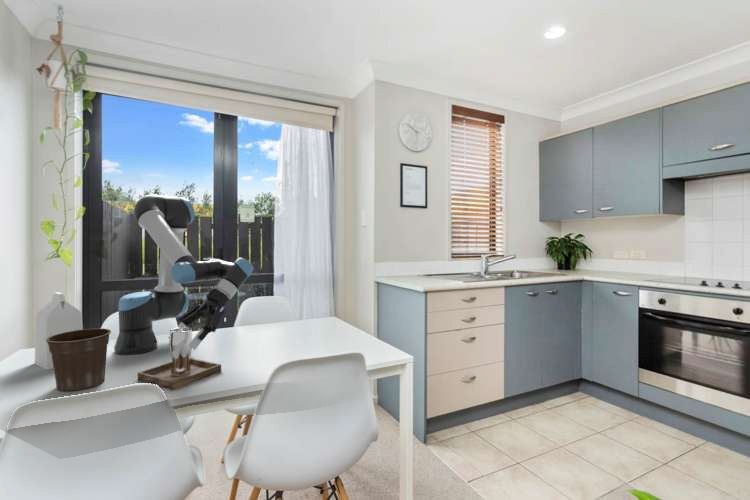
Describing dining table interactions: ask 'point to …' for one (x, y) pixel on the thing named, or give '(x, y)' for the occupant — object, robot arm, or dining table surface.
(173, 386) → the walnut tray
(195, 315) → the robot arm
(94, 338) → the plant pot
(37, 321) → the milk
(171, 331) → the beer glass
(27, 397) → the dining table surface
